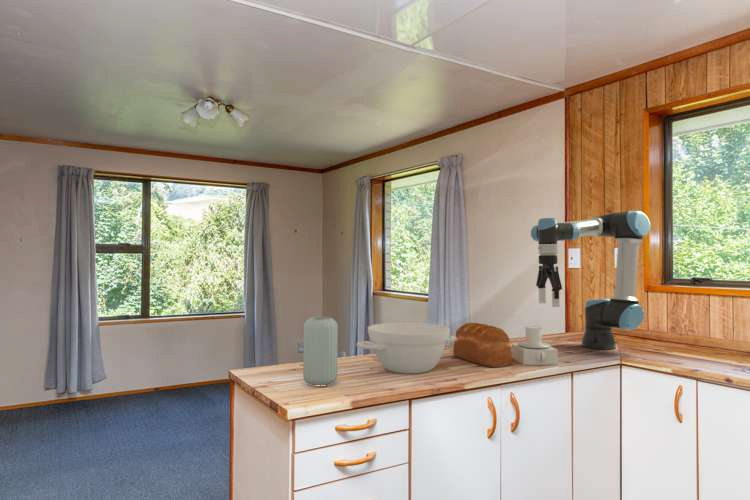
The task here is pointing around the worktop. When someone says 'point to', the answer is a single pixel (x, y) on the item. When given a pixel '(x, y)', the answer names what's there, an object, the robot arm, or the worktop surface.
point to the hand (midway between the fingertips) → (548, 305)
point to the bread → (483, 345)
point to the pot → (408, 345)
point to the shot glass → (533, 335)
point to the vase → (320, 350)
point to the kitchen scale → (535, 354)
